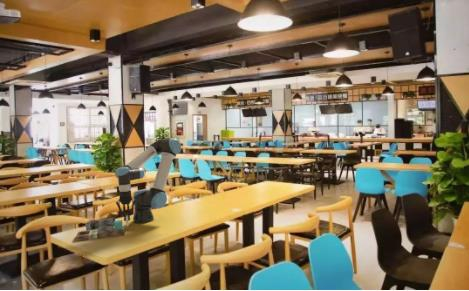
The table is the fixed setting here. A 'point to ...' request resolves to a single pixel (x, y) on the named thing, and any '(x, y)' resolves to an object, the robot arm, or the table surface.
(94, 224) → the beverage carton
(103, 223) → the brown piece
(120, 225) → the teal block
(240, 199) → the table surface
